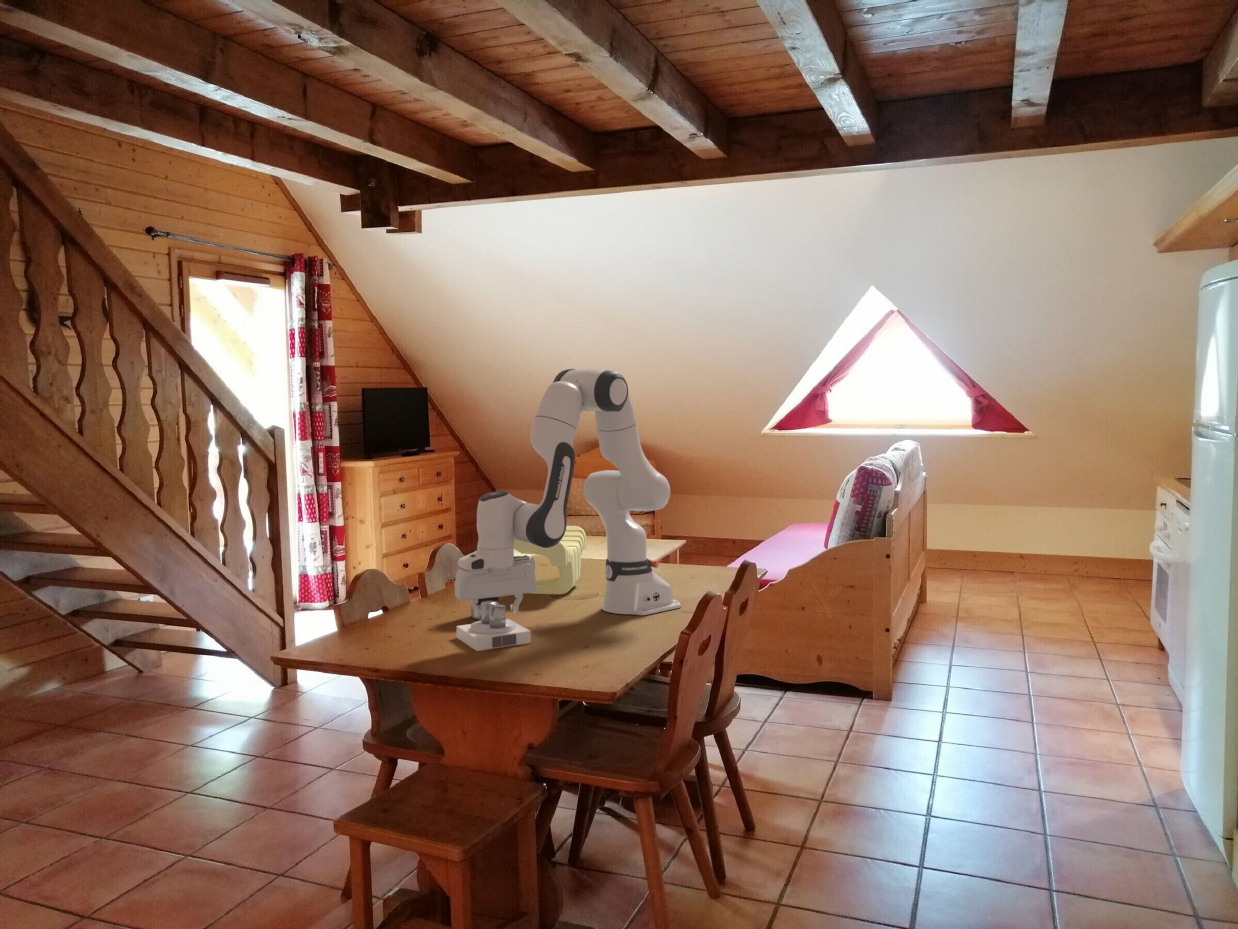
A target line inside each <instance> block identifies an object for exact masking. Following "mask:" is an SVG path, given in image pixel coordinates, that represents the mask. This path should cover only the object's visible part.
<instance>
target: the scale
mask: <svg viewBox="0 0 1238 929" xmlns="http://www.w3.org/2000/svg"><path fill="white" fill-rule="evenodd" d="M531 633H532V631H531V630H529V629H528V628H526V627H524V626H522V625H521V624H519V623H517V622H515V621H513V620H512V619H509V618H506V627H504V628H499V629H494V628H490V627H489V624H482V623H481V620H477V621H474V622H472V623H470V624H462V625H456V638H457V639H458V640H460V641H461V642H463V643H464V644H465V645H467V646H468V647H470V648H471V649H473V650H475V652H478V651H479V652H480V651H487V650H492V649H493V650H495V649H500V648H506V647H507V648H508V647H513V646H519V645H525V644H532V637H531V635H532V634H531Z"/></svg>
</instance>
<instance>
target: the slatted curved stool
mask: <svg viewBox="0 0 1238 929" xmlns="http://www.w3.org/2000/svg"><path fill="white" fill-rule="evenodd" d="M586 549H587V536H586V532H585V530H584V529H583V527H580V526H578V525H567V526H566V531H565V534H564V536H563V538H562V539H561V541H560V542H559V543H558V544H556V545H555V546H553V547H550V548H543V547H540V546H537V545H535V544H532V543H528V542H523V541H520V540H515V541H514V550H515V551H516V552H518V553H520V554H521V555H522V554H525V555H535V556H541V557H545V558H547V559H548V560H549V562H550V565H551V567H557V569H558V573H559V574H558V575H559V577H554V578H542V579H541V578H540V579H539V578H536V589H535V591H534V592H531V593H530V594H539V595H540V594H542V595H564V594H567V593H568V592H569V591H570V590H572V588H574V586H576V585H577V584H578V583H579V581H580V579H581V570H582V568H581V566H582V565H581V564H582V554H583V552H584V550H586Z"/></svg>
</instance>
